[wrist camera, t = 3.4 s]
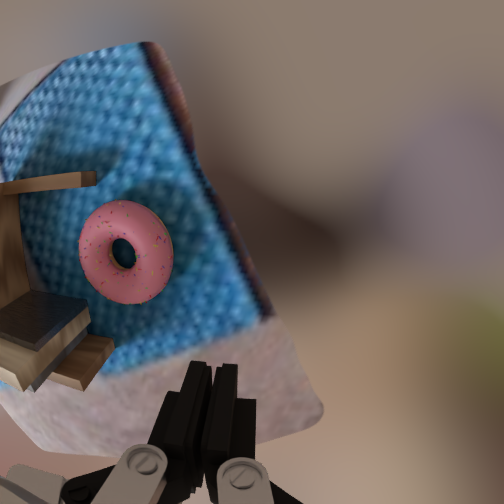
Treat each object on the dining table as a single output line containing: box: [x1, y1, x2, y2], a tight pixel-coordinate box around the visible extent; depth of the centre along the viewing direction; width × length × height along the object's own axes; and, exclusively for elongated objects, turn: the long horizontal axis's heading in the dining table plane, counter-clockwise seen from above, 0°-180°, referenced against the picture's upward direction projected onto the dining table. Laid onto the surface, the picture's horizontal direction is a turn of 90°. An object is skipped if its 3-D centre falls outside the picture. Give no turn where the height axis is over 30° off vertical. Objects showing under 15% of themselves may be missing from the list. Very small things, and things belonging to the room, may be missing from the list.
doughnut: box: [78, 199, 173, 305], centre depth 27 cm, size 11×11×4 cm
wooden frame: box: [0, 171, 115, 393], centre depth 22 cm, size 22×16×15 cm
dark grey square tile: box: [0, 290, 88, 352], centre depth 25 cm, size 1×11×11 cm, turn 88°
